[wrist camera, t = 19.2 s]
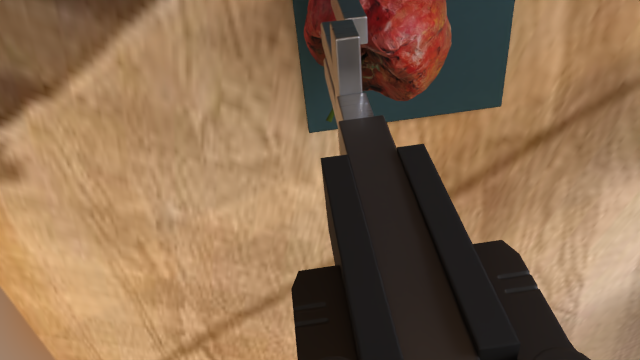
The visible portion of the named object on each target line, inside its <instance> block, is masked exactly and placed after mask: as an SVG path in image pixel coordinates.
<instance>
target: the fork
mask: <svg viewBox="0 0 640 360" xmlns="http://www.w3.org/2000/svg"><path fill="white" fill-rule="evenodd" d="M331 6H332V9H333V12H334V15H335V17H336V20H337V21H330V22H322V23H321V36H322V45H323V48H324V52H325V56H326V58H325V59H324V70H325V79H326V83H327V87H328V91H329V95H330V98H331V102H332V106H333V110H334V114H335V118H336V122H337V125H338V138H339V151H340V155H347V154H348V157H349V160H350V164H351V168H352V171H353V175H354V179H355V182H356V186H357V190H358V193H359V197H360V201H361V204H362V208H363V212H364V215H365V219H366V223H367V226H368V230H369V234H370V237H371V241H372V245H373V249H374V252H375V256H376V260H377V263H378V267H379V271H380V274H381V278H382V282H383V285H384V289H385V293H386V296H387V300H388V304H389V307H390V311H391V315H392V318H393V322H394V326H395V329H396V333H397V337H398V340H399V344H400V348H401V352H402V355H403V359H404V360H480V358H479V357H478V355H477V353H476V350H475V347H474V345H473V342H472V340H471V337H470V335H469V332H468V330H467V327H466V325H465V322H464V320H463V317H462V315H461V312H460V309H459V307H458V304H457V302H456V299H455V297H454V294H453V292H452V289H451V287H450V284H449V282H448V279H447V277H446V274H445V271H444V269H443V266H442V264H441V261H440V259H439V256H438V254H437V251H436V249H435V246H434V244H433V241H432V238H431V236H430V233H429V231H428V228H427V226H426V223H425V221H424V218H423V216H422V213H421V211H420V208H419V206H418V203H417V200H416V198H415V195H414V193H413V190H412V188H411V185H410V183H409V180H408V178H407V175H406V173H405V170H404V168H403V165H402V162H401V160H400V157H399V155H398V152H397V148H396V146H395V143H394V141H393V138H392V136H391V133H390V131H389V128H388V126H387V123H386V121H385V118H384V116H383V115H380V116H374V114H373V112H372V109H371V106H370V104H369V101H368V98H367V95H366V93H362V70H361V46H360V44H367V43H368V25H367V16H366V14H365V12H364V10H363V8H362V6H361V4H360V1H359V0H331Z"/></svg>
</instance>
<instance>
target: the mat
mask: <svg viewBox="0 0 640 360" xmlns="http://www.w3.org/2000/svg"><path fill="white" fill-rule="evenodd" d="M308 2H309V0H293V8H294V16H295V24H296V32H297V40H298V48H299V56H300V64H301V72H302V80H303V88H304V96H305V104H306V112H307V120H308V128H309V133H313V132H320V131H327V130H334V129H338V125H337V122H336V118H335V114H334V117H333V119H332V122H329V121H327V120H326V119H327V117H328V115H329V114H330V112H331V110H332V108H333V106H332V102H331V98H330V95H329V91H328V87H327V83H326V79H325V70H324V66H321V65H320V64H318V63H317V62H316V60H315V59H314V57H313V56H312V55H311V53H310V51H309V49H308V47H307V44H306V41H305V38H304V26H305V20H306V16H307V13H308V10H307V9H308ZM514 3H515V0H446V7H447V18H448V20H449V23H450V26H451V43H452V44H451V47H450V49H449V52H448V54H447V57H446V59H445V61H444V64H443V66H442V68H441V69H440V71H439V73H438V75H437V77H436V78H435V79H434V80H433V82H432V83H431V84H430V85H429V86H428V87H427V89H426V90H424V91H423V92H422V93H420V94H418V95H416V96H415V97H414V98H412V99H410V100H408V101H396V100H393V99H391V98H389V97H386V96H384V95H383V94H381V93H379V92H376V91H374V90H369V91H362V93H366V95H367V98H368V101H369V104H370V106H371V109H372V112H373V114H374V116H380V115H383V116H384V118H385V121H386V122H392V121H399V120H406V119H413V118H421V117H428V116H435V115H442V114H449V113H456V112H464V111H471V110H478V109H485V108H492V107H500V106H501V104H502V96H503V88H504V80H505V73H506V65H507V57H508V49H509V42H510V34H511V26H512V18H513V11H514Z"/></svg>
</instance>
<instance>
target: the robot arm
mask: <svg viewBox="0 0 640 360" xmlns="http://www.w3.org/2000/svg"><path fill="white" fill-rule="evenodd" d="M397 152H398V155H399V157H400V160H401V162H402V165H403V168H404V170H405V173H406V175H407V178H408V180H409V183H410V185H411V188H412V190H413V193H414V195H415V198H416V200H417V203H418V206H419V208H420V211H421V213H422V216H423V218H424V221H425V223H426V226H427V228H428V231H429V233H430V236H431V238H432V241H433V244H434V246H435V249H436V251H437V254H438V256H439V259H440V261H441V264H442V266H443V269H444V271H445V274H446V277H447V279H448V282H449V284H450V287H451V289H452V292H453V294H454V297H455V299H456V302H457V304H458V307H459V309H460V312H461V315H462V317H463V320H464V322H465V325H466V327H467V330H468V332H469V335H470V337H471V340H472V342H473V345H474V347H475V350H476V353H477V355H478V357H479V358H480V360H590V359H589V358H588V357H586V356H585V355H584V354H582V353H580V352H578V351H577V350H576V349H575V348H574V347H573V345H572V344H571V343H570V341H569V340H568V338H567V336H566V334H565V333H564V331H563V329H562V328H561V326H560V324H559V322H558V321H557V319H556V317H555V315H554V314H553V312H552V310H551V308H550V307H549V305H548V303H547V301H546V300H545V298H544V296H543V294H542V293H541V291H540V289H538V287H537V284H536V282H535V281H534V279H533V277H532V275H530V274H529V270H528V268H527V267H526V265H525V263H524V261H523V260H522V258H521V256H520V254H519V253H517V252H516V251H515V250H514V249H513V248H511V247H510V246H509V245H508V244H506V243H505V242H504V241H503V240H498V241H491V242H484V243H478V244H472V242H471V240H470V238H469V236H468V234H467V232H466V230H465V228H464V226H463V224H462V222H461V220H460V217H459V215H458V213H457V211H456V209H455V207H454V205H453V203H452V201H451V199H450V197H449V195H448V193H447V191H446V189H445V187H444V185H443V182H442V180H441V178H440V176H439V174H438V172H437V170H436V168H435V166H434V164H433V162H432V160H431V158H430V156H429V154H428V152H427V150H426V147H425V145H424V144H418V145H411V146H404V147H397ZM321 165H322V174H323V183H324V192H325V200H326V209H327V218H328V227H329V234H330V239H331V245H332V250H333V256H334V261H335V266H330V267H323V268H316V269H309V270H302V271H298V274H297V276H296V279H295V281H294V284H293V286H292V300H293V310H294V323H295V334H296V345H297V356H298V360H404V359H403V355H402V352H401V348H400V344H399V340H398V337H397V333H396V329H395V326H394V322H393V318H392V315H391V311H390V307H389V304H388V300H387V296H386V293H385V289H384V285H383V282H382V278H381V274H380V271H379V267H378V263H377V260H376V256H375V252H374V249H373V245H372V241H371V237H370V234H369V230H368V226H367V223H366V219H365V215H364V212H363V208H362V204H361V201H360V197H359V193H358V190H357V186H356V182H355V179H354V175H353V171H352V168H351V164H350V160H349V157H348V154H347V155H340V156H333V157H326V158H321Z"/></svg>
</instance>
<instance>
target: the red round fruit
mask: <svg viewBox="0 0 640 360" xmlns="http://www.w3.org/2000/svg"><path fill="white" fill-rule="evenodd" d="M359 1H360V4H361V6H362V8H363V10H364V12H365V14H366V16H367V25H368V43H367V44H360V46H361V70H362V91H369V90H374V91H376V92H379V93H381V94H383V95H384V96H386V97H389V98H391V99H393V100H396V101H408V100H410V99H412V98H414V97H415V96H416V95H418V94H420V93H422V92H423V91H424V90H426V89H427V87H428V86H429V85H430V84H431V83H432V82H433V80H434V79H435V78H436V77H437V75H438V73H439V71H440V69H441V68H442V66H443V64H444V61H445V59H446V57H447V54H448V52H449V49H450V47H451V44H452V43H451V26H450V23H449V20H448V18H447V7H446V0H359ZM307 10H308V13H307V16H306V20H305V26H304V38H305V41H306V44H307V47H308V49H309V51H310V53H311V55H312V56H313V57H314V59H315V60H316V62H317V63H318V64H320V65H321V66H324V59H325V58H326V56H325V52H324V48H323V45H322V36H321V23H322V22H330V21H337V20H336V17H335V15H334V12H333V9H332V6H331V0H309V2H308V9H307ZM333 117H334V110H333V108H332V110H331V112H330V114H329V115H328V117H327V119H326V120H327V121H329V122H332V119H333Z"/></svg>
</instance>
